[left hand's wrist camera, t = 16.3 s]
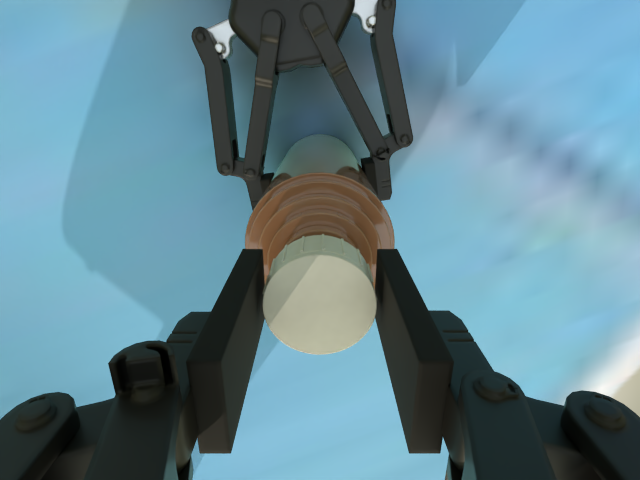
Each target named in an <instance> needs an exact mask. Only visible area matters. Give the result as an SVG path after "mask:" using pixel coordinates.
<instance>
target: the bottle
mask: <svg viewBox="0 0 640 480" xmlns="http://www.w3.org/2000/svg"><path fill="white" fill-rule="evenodd" d="M322 234H324V235H327V236H332V237H336V238H339V239H341V238H342V239H344V241H346V242H348V243H349V244H351V245H352V246H353V247H354V248H356V249H359V251H360V254H361V255H362V256H363V258H364V259H365V261H366V263H367V264H369V267H370V270H371V273H372V277H373V280H374V282H373V286H374V289H375V278H376V260H377V249H394V230H393V226H392V223H391V220H390V217H389V215H388V213H387V211H386V209H385V207H384V206H383V204H382V202H381V201H380V199H379V197H378V195H377V194H376V192H375V190H374V189H373V187H372V185H371V183H370V182H369V180H368V178H367V177H366V175H365V173H364V171H363V170H362V168H361V166H360V165H359V163H358V161H357V159H356V158H355V156H354V154H353V153H352V151H351V150H350V148H349V147H348V146H347V145H346V144H345V143H344V142H342V141H341V140H339V139H338V138H336V137H333V136H330V135H325V134H315V135H310V136H307V137H304V138H302V139H300V140H299V141H297V142H296V143H295V144H294V145H293V146H292V147H291V148H290V149H289V151H288V152H287V154H286V156H285V157H284V159H283V161H282V162H281V164H280V166H279V167H278V169H277V171H276V173H275V174H274V176H273V178H272V179H271V181H270V183H269V184H268V186H267V188H266V189H265V191H264V193H263V195H262V196H261V198H260V200H259V201H258V203H257V205H256V206H255V208H254V210H253V212H252V214H251V216H250V219H249V222H248V225H247V229H246V235H245V248H246V249H263V260H264V278H265V283H266V280H267V276H268V275H269V272H270V268H271V265H272V261H273V259H274V258H276V257H277V256H278V254H279V253H280V252H281V251H282V250H283V249H284V248H285V245H289V244H290V243H292V242H294V241H296V240H298V239H300V238H302V236H304V237H307V236H313V235H322Z"/></svg>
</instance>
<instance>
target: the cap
mask: <svg viewBox="0 0 640 480" xmlns="http://www.w3.org/2000/svg"><path fill="white" fill-rule="evenodd" d="M373 282H374V280H373V277H372V273H371V270H370V267H369V264H367V263H366V261H365V259H364V258H363V256H362V255H361V254H360V251H359V249H356V248H354V247H353V246H352V245H351V244H349V243H348V242H346V241H344V239H342V238H341V239H339V238H336V237H332V236H327V235H324V234H322V235H313V236H307V237H304V236H302V238H300V239H298V240H296V241H294V242H292V243H290V244H289V245H285V248H284V249H283V250H282V251H281V252H280V253H279V254H278V256H277V257H276V258H274V259H273V261H272V265H271V268H270V272H269V275H268V276H267V280H266V283H265V286H264V290H263V294H264V295H263V313H264V317H265V320H266V322H267V325H268V326H269V328H270V330H271V331H272V332H273V334H274V335H275V336H276V337H277V338H278V339H279V340H280V341H282V342H283V343H284V344H286V345H287V346H289V347H291V348H293V349H295V350H298V351H301V352H304V353H309V354H330V353H335V352H339V351H342V350H344V349H347V348H349V347H350V346H352V345H354V344H355V343H357V342H358V341H359V340H360V339H361V338H363V336H364V335H365V334H366V333H367V332H368V330H369V329H370V327H371V325H372V323H373V321H374V318H375V315H376V310H377V296H376V293H375V289H374V286H373Z"/></svg>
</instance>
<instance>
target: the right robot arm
mask: <svg viewBox="0 0 640 480" xmlns="http://www.w3.org/2000/svg"><path fill="white" fill-rule="evenodd" d="M395 8H396V0H231V6H230V10H229V15H228V19H227V20H225V21H222V22H220V23H218V24H216V25H214V26H212V27H210V28H208V29H205V28H203V27H196V28H195V29H194V30H193V32H192V40H193V42H194V45H195V47H196V49H197V51H198V53H199V56H200V58H201V60H202V62H203V64H204V66H205V75H206V83H207V91H208V99H209V107H210V115H211V123H212V131H213V139H214V147H215V155H216V163H217V169H218V172H219V173H220V174H222V175H225V176H227V175H232V176H237V177H241V178H242V179H243V180H245V182H246V184H247V188H248V192H249V196H250V201H251V205H252V210H254V208H255V206H256V205H257V203H258V201H259V200H260V198H261V196H262V195H263V193H264V191H265V189H266V188H267V186H268V184H269V183H270V181H271V179H272V178H273V176H274V172H273V173H267V174H264V173H263V170H264V161H265V155H266V149H267V143H268V136H269V130H270V124H271V118H272V112H273V105H274V99H275V93H276V88H277V84H278V79H279V73H284V72H289V71H292V70H294V69H297V68H299V67H301V66H303V67H311V68H313V67H318V66H322V65H323V64H324V66H325V68H326V70H327V72H328V73H329V75H330V77H331V79H332V80H333V82H334V84H335V86H336V88H337V90H338V92H339V94H340V96H341V98H342V100H343V102H344V104H345V105H346V107H347V109H348V111H349V113H350V115H351V117H352V119H353V121H354V123H355V125H356V127H357V128H358V130H359V132H360V134H361V136H362V138H363V140H364V142H365V144H366V146H367V148H368V150H369V152H370V157H368V158H362V159H361V165H362V170H363V171H364V173H365V175H366V177H367V178H368V180H369V182H370V183H371V185H372V187H373V189H374V190H375V192H376V194H377V195H378V197H379V199H380V201H382V200H389V199H390V197H391V194H392V188H391V178H390V167H389V159H390V157H391V155H392V154H393V153H394V152H396V151H398V150H399V149H401V148H403V147H408V146H409V145H410V144H411V143H412V141H413V135H412V130H411V125H410V119H409V114H408V109H407V104H406V99H405V94H404V89H403V84H402V79H401V74H400V69H399V64H398V59H397V54H396V49H395V44H394V39H393V34H392V33H393V25H394V17H395ZM351 16H355V17H357V18H358V19H359V21H360V24H361V29H362V31H363V32H364V33H365V34H368V35H370V40H371V49H372V54H373V59H374V63H375V68H376V73H377V77H378V82H379V86H380V91H381V96H382V100H383V105H384V109H385V114H386V118H387V123H388V128H389V132H390V133H389V134H387V135H385V136H382V134H381V132H380V130H379V128H378V126H377V124H376V122H375V120H374V118H373V116H372V114H371V112H370V110H369V108H368V106H367V104H366V102H365V100H364V98H363V96H362V94H361V92H360V90H359V88H358V86H357V84H356V82H355V80H354V78H353V76H352V74H351V72H350V70H349V68H348V66H347V63H346V61H345V59H344V57H343V55H342V53H341V51H340V49H339V47H338V43H339V41H340V39H341V37H342V35H343V33H344V31H345V28H346V26H347V24H348V22H349V20H350V18H351ZM237 36H238V37H239V38H240V39H241V40H242V42H243V43H244V44H245V45H246V46H247V47H248V48H249V49H250V50H251V51H252V52H253V53H254V54H255V55H256V56H257V57H258V59H257V66H256V73H255V89H254V96H253V103H252V110H251V117H250V124H249V131H248V138H247V145H246V152H245V158H240V157H239V151H238V141H237V131H236V122H235V112H234V102H233V92H232V83H231V74H230V68H229V64H228V61H227V60H228V59H229V58H230V57H231V56H232V54H233V49H232V42H233V39H234V38H235V37H237Z"/></svg>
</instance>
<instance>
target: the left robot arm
mask: <svg viewBox="0 0 640 480" xmlns="http://www.w3.org/2000/svg"><path fill="white" fill-rule="evenodd" d="M264 286H265V278H264V260H263V249H243V250H242V252H241V254H240V256H239V258H238V260H237V262H236V264H235V266H234V268H233V270H232V272H231V274H230V276H229V277H228V279H227V281H226V283H225V285H224V287H223V289H222V291H221V293H220V295H219V297H218V299H217V301H216V303H215V305H214V307H213V309H212V311H211V312H190V313H189V314H188V315H186V316H185V317H184V318H182V319H181V320H180V321H179V322H178V323H177V325H176V326H175V328H174V329H173V331H172V334H170V336H169V337H168V339H167V341H166V342H162V341H145V342H141V343H136V344H134V345H131V346H129V347H127V348H124V349H123V350H121V351H120V352H119V353H117V354H116V355H114V357H113V358H112V359H111V361H110V362H109V363H108V364H109V368H110V373H111V377H112V381H113V385H114V389H115V393H116V395H115V398H112V399H109V400H106V401H102V402H98V403H93V404H89V405H85V406H80V407H76V405H75V401H74V399H73V398H72V397H71V396H70V395H69V394H66V393H60V392H55V393H47V394H43V395H40V396H37V397H34V398H31V399H29V400H27V401H25V402H23V403H21V404H19V405H17V406H16V407H15V408H13V409H12V410H11V411H10V412H8V413H7V414H6V415H5V416H4V417H3V418H2V419H1V420H0V480H192V478H193V464H192V458H191V454H192V451H193V448H194V445H195V442H196V440H197V438H198V445H199V451H200V453H231V451H232V447H233V443H234V439H235V435H236V431H237V427H238V423H239V419H240V415H241V411H242V407H243V403H244V399H245V395H246V391H247V387H248V383H249V379H250V375H251V371H252V367H253V363H254V359H255V355H256V351H257V347H258V343H259V339H260V335H261V331H262V327H263V323H264V319H265V317H264V313H263V295H264V294H263V290H264ZM375 293H376V296H377V310H376V315H375V319H376V323H377V327H378V331H379V335H380V339H381V343H382V347H383V351H384V355H385V359H386V363H387V367H388V371H389V375H390V379H391V383H392V387H393V391H394V395H395V399H396V403H397V407H398V411H399V415H400V419H401V423H402V427H403V431H404V435H405V439H406V443H407V447H408V451H409V453H440V451H441V445H442V438H444V441H445V443H446V446H447V449H448V452H449V458H448V464H447V470H446V476H445V480H640V417H639V416H638V415H637V414H636V413H634V412H633V411H632V410H630V409H629V408H628V407H627V406H625V405H624V404H622V403H620V402H619V401H617V400H615V399H613V398H611V397H609V396H606V395H603V394H600V393H597V392H590V391H577V392H572V393H571V394H570V395H569V396H568V397H567V398H566V401H565V405H564V406H562V405H558V404H553V403H549V402H545V401H540V400H536V399H533V398H529V397H526V396H525V395H524V393H523V391H522V390H521V388H520V387H519V385H517V384H516V383H515V382H514V381H513V380H511V379H510V378H508V377H506V376H504V375H502V374H500V373H498V372H494V370H493V369H492V367H491V366H490V364H489V363H488V361H487V359H486V358H485V356H484V355H483V353H482V352H481V350H480V348H479V347H478V345H477V344H476V342H474V339H473V337H472V336H471V334H470V333H468V330H467V328H466V326H465V325H464V323H463V322H462V320H461V319H460V318H458V317H457V316H455V315H454V314H453V313H451V312H450V311H428V309H427V307H426V305H425V303H424V301H423V299H422V297H421V295H420V293H419V291H418V289H417V287H416V285H415V283H414V281H413V279H412V277H411V275H410V274H409V272H408V270H407V268H406V266H405V264H404V262H403V260H402V258H401V256H400V254H399V252H398V250H397V249H377V260H376V278H375Z"/></svg>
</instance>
